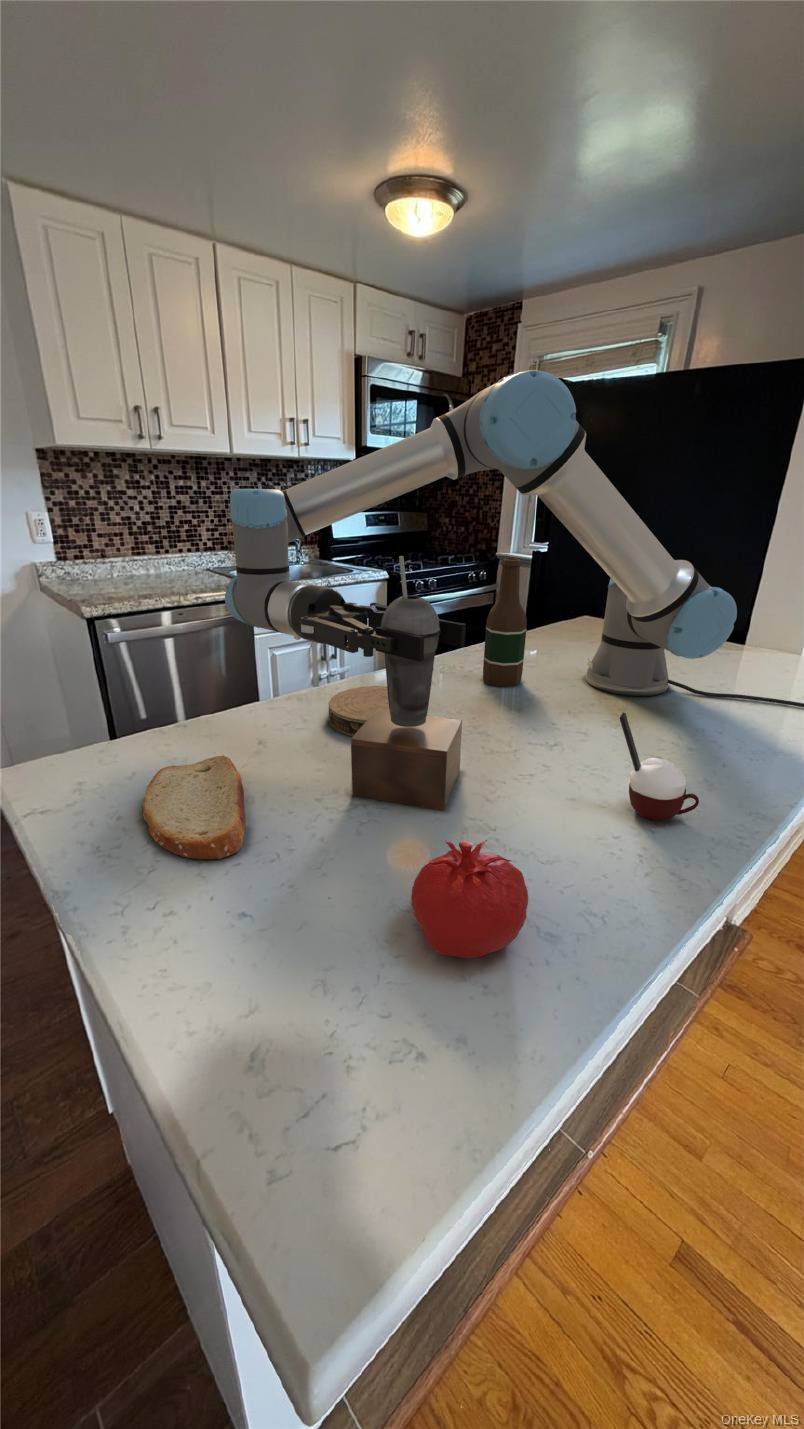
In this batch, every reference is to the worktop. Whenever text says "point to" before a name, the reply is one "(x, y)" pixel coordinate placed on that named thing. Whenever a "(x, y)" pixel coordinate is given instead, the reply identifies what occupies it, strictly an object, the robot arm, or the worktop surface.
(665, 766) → the cocoa
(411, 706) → the beverage cup
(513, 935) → the pomegranate
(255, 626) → the robot arm
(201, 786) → the bread slice
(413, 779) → the riser
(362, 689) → the tan flat ringed disc
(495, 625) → the beer bottle
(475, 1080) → the worktop surface
